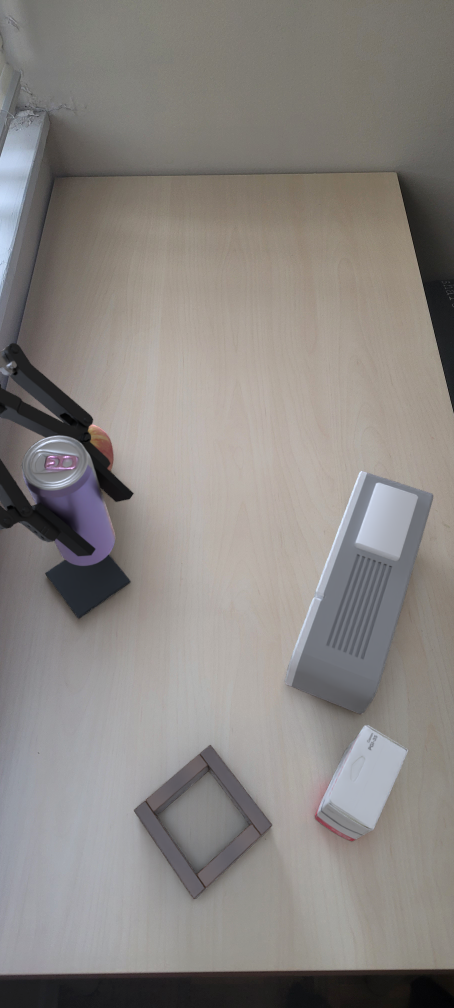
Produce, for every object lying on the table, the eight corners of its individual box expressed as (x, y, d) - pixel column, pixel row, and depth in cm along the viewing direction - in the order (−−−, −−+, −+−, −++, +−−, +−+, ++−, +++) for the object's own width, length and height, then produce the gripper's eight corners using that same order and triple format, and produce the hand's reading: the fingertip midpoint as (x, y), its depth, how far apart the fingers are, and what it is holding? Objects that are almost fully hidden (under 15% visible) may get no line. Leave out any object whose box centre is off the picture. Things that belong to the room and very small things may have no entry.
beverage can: (113, 569, 66) (84, 490, 53) (55, 568, 66) (13, 490, 53) (119, 519, 69) (93, 433, 56) (64, 518, 69) (26, 432, 56)
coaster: (78, 619, 81) (77, 617, 80) (45, 574, 84) (44, 572, 83) (130, 582, 83) (130, 580, 83) (97, 540, 87) (96, 538, 86)
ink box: (352, 844, 67) (373, 835, 57) (310, 817, 69) (324, 804, 59) (386, 769, 71) (411, 749, 61) (346, 745, 73) (365, 721, 62)
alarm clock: (348, 508, 89) (364, 459, 79) (414, 530, 87) (438, 482, 77) (281, 691, 76) (289, 659, 66) (357, 721, 74) (377, 694, 64)
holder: (195, 899, 65) (193, 899, 62) (137, 813, 69) (133, 810, 66) (270, 828, 68) (272, 825, 65) (211, 750, 72) (210, 744, 69)
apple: (114, 444, 95) (105, 409, 88) (121, 493, 90) (112, 461, 84) (55, 454, 94) (41, 420, 87) (59, 505, 89) (45, 472, 83)
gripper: (-41, 286, 58) (137, 457, 68) (-200, 435, 49) (31, 607, 59) (-13, 253, 52) (177, 445, 62) (-188, 415, 43) (66, 609, 53)
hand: (106, 524), depth 61 cm, fingers closed on beverage can, 6 cm apart
